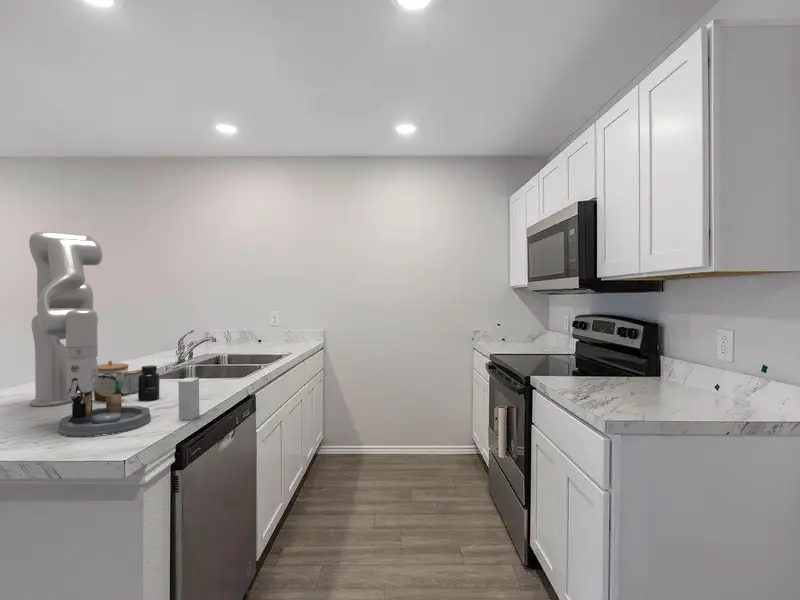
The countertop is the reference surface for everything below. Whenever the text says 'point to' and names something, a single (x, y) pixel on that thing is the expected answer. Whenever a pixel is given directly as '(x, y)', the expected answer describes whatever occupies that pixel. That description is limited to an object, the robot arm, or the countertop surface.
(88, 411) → the oak bead
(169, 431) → the countertop surface
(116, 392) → the food container
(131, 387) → the tin
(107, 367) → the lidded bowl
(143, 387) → the supplement bottle
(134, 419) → the slate tray
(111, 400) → the walnut bead
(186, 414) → the skincare box
